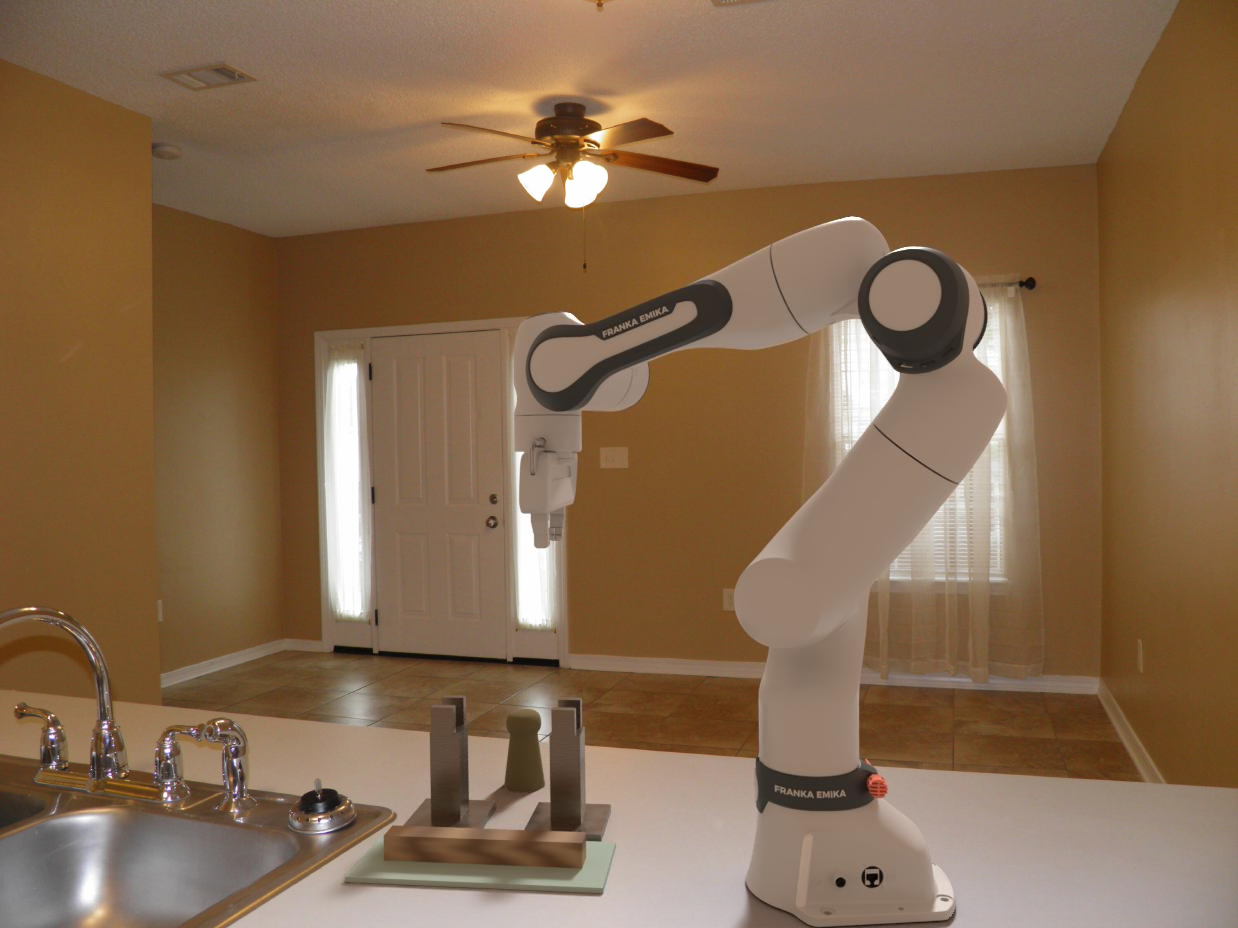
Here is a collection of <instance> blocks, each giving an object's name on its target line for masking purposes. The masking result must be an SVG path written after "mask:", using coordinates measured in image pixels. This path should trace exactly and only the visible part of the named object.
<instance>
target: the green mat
mask: <svg viewBox="0 0 1238 928" xmlns="http://www.w3.org/2000/svg"><path fill="white" fill-rule="evenodd" d="M385 834H386V833H383V832H382V834H381V836H380V837H379V838H377V840H376V841H375V842H374V843H373V844H372V845H371V847H370V848H369V849H368V850H367V851H366V853H365V854H363V856H362V857H361V858H359V860H358V861H357V862H356V864H355V865H354V866H353V867H352V868H351V869H350V870H349V872H347V874H346V875H345V876H344V882H345V883H355V884H356V883H359V884H381V885H383V884H385V885H400V886H401V885H402V886H403V885H404V886H408V885H409V886H427V887H428V886H429V887H452V888H473V889H474V888H475V889H493V890H494V889H496V890H515V891H517V890H518V891H522V890H523V891H538V892H539V891H541V892H560V893H561V892H563V893H564V892H565V893H586V894H588V893H589V894H604V891H605V887H606V885H607V880H608V877H609V874H610V869H611V866H612V862H613V859H614V855H615V851H616V848H617V843H616V841H601V842H598V841H586V859H585V862H584V865H583V868H558V867H533V866H508V865H483V864H459V863H434V862H409V861H385V860H384V835H385Z"/></svg>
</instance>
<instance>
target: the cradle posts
mask: <svg viewBox="0 0 1238 928" xmlns="http://www.w3.org/2000/svg"><path fill="white" fill-rule="evenodd" d="M550 714H551V721H550V722H551V732H550V733H549V738H548V739H549V793H550V794H549V795H550V796H549V797H550V798H549V799H550V800H549V801H550V802H547V801H538V803H537V805H536V807H535V808H534V810H533V812H532V814H531V816H530V818H529V820H528V822H527V824H526V826H525V827H524V829H523V830H536V831H564V832H586V841H598V842H603V838H604V834H605V832H606V829H607V827H608V826H607V824H608V822H609V820H610V816H611V813H612V805H611V804H610V803H609V804H606V803H586V800H587V798H586V797H587V795H586V737H585V736H586V733H585V731H586V729H585V728H586V727H585V726H582V725H583V699H582V697H564V696H561V697H559V698H558V699H557V706H553V707H552V708H551V712H550ZM429 764H430V765H429V767H430V775H429V776H430V780H429V781H430V782H429V783H430V797H429V798H427V797H426V798H425V799H424V800H423V801H422V802H421V804H420V805H419V806H418V807H417V809H416V810H414V812H413V813H412V814H411V815H410V816H409V818H408V819H407V820H406V822H405V823H404V824H403V825H402V826H425V827H453V828H480V829H485V826H486V825H487V823H488V822H489V820H490V818H492V815H493V814H494V812H495V811H496V809H497V800H490V799H483V800H482V799H470V790H469V789H470V785H469V784H470V783H469V782H470V781H469V779H470V778H469V777H470V776H469V725H468V723H467V695H461V694H457V695H456V694H444V695H443V696H441V704H433V705H432V706H430V732H429Z"/></svg>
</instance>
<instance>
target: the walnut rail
mask: <svg viewBox="0 0 1238 928" xmlns="http://www.w3.org/2000/svg"><path fill="white" fill-rule="evenodd" d="M384 834H385V835H384V860H385V861H409V862H434V863H459V864H483V865H508V866H533V867H558V868H583V865H584V862H585V859H586V832H564V831H536V830H524V829H506V828H505V829H503V828H500V829H499V828H483V829H480V828H453V827H425V826H403V825H393V824H392V825H391V826H390V828H389V829H388V830H387V831H386V833H384Z"/></svg>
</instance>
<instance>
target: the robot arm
mask: <svg viewBox="0 0 1238 928" xmlns="http://www.w3.org/2000/svg"><path fill="white" fill-rule="evenodd" d="M987 306H988V305H987V302H986V300H985V297H984V295H983V294H982V292H981V290H980V288H979V287H978V284H977V282H976V280H975V278H974V277H973V276H972V275H971V273H969V272H968V270H967V269H965V268H964V267H963V266H962V265H960V264H959V263H957V262H956V261H955V260H954V259H953V258H952V257H950V255H948V254H946V253H944V252H942V251H940V250H937V249H935V248H931V247H926V246H907V247H902V248H899V249H895V250H893V251H892V250H891V248H890V247H889V244H888V242H887V240H886V238H885V237H884V235H883V234H882V233H881V231H880V230H879V229H878V228H877V227H876V225H874V224H872V223H871V222H870V221H868V220H866V219H865V218H861V217H856V216H850V217H844V218H841V219H836V220H832V221H828V222H824V223H821V224H819V225H816V226H812V227H810V228H807V229H804V230H801V231H799V232H796V233H794V234H791V235H789V236H786V237H784V238H782V239H780V240H777V241H775V242H773V243H771V244H769V245H767V246H765V247H763V248H761V249H758V250H756V251H755V252H753V253H751V254H749V255H746V256H745V257H743V258H741V259H739V260H737V261H735V262H733V263H731V264H729V265H728V266H726V267H723V268H721V269H719V270H717V271H715V272H712V273H711V274H709V275H706V276H704V277H702V278H700V279H697V280H695V281H693V282H691V283H689V284H688V285H685V286H683V287H680V288H678V289H674V290H673V291H669V292H667V293H664V294H662V295H660V296H657V297H654V298H651V299H649V300H647V301H644V302H642V303H639V304H637V305H634V306H632V307H630V308H627V309H625V310H622V311H621V312H617V313H615V314H613V315H611V316H608V317H606V318H603V319H601V320H597V321H595V322H592V323H588V324H585V323H583V321H582V322H581V321H580V320H579V319H578V318H577V317H576V316H575V315H573V314H572V313H570V312H566V311H565V312H564V311H552V312H543V313H542V312H541V313H537V314H534V315H532V316H530V317H527V318H526V319H524V320H523V321H521V322H520V324H519V326H518V329H517V331H516V335H515V340H514V347H513V348H514V349H513V367H512V369H513V373H512V374H513V375H512V376H513V386H514V390H515V393H516V394H515V395H516V405H515V408H514V412H513V427H514V428H513V429H514V431H513V432H514V433H513V439H514V440H513V443H514V447H513V448H514V451H513V452H516V453H522V455H521V456H520V462H519V479H518V480H519V481H518V482H519V483H518V485H519V486H518V505H519V510H520V512H521V513H522V514H523V515H524V514H529V515H530V525H531V529H532V533H533V546H534V548H536V549H547V548H549V547H550V545H551V542H559V541H561V540H563V539H564V527H565V520H566V510H567V509H566V508H567V506H570V505H573V504H574V501H575V497H576V492H577V480H578V479H577V478H578V477H577V476H578V461H579V460H578V456H579V455H578V453H580V452H582V451H583V447H582V446H583V445H582V444H583V443H582V441H583V439H582V435H583V433H582V431H583V429H582V425H583V424H582V423H583V422H582V411H589V412H618V411H624V410H627V409H630V408H632V407H634V406H635V405H636V404H637V403H639V402H640V401H641V399H642V398H643V397H644V396H645V395H646V392H647V390H648V386H649V383H650V374H651V373H650V371H651V370H650V365H649V362H651V361H654V360H656V359H660V358H663V357H664V356H667V355H670V354H671V353H672V354H673V353H676V352H680V351H686V350H691V349H705V348H708V349H709V348H711V349H712V348H713V349H714V348H715V349H732V350H744V351H745V350H746V351H747V350H748V351H757V350H761V349H767V348H772V347H776V346H781V345H783V344H788V343H792V342H794V341H796V340H799V339H802V338H804V337H806V336H809V335H811V334H814V333H816V332H818V331H819V332H820V330H823V329H825V328H827V327H829V326H833V325H834V324H837V323H841V322H844V321H848V320H860V321H861V324H862V326H863V328H864V330H865V332H866V333H867V335H868V338H870V340H871V341H872V343H873V344H874V345H875V346H876V348H877V349H878V350H879V351H880V353H881V354H882V355H883V356H884V358H885V359H886V361H887V362H888V364H889V365H890V366H891V368H892V369H893V370H894V371H896V372H898V373H899V379H898V383H897V384H896V387H895V390H894V391H893V393H892V395H891V396H890V398H889V399H888V400H887V402H886V403H885V404H884V406H883V407H882V408H881V409H880V411H879V412H877V415H876V416H875V418H873V420H872V421H871V423H869V425H868V426H867V428H866V429H865V430H864V432H863V433H862V434H861V435H860V437H859V438H858V439H857V440H856V442H855V443H854V444H853V446H852V447H851V448H850V450H849V451H848V452H847V454H846V455H845V456H844V458H843V459H842V460H841V461H840V463H839V464H838V466H837V467H836V468H835V470H834V471H832V474H830V476H829V477H828V478H827V479H826V480H825V481H824V482H823V484H822V485H821V486H820V487H819V488H818V489H817V490H816V491H815V492H814V493H813V494H812V495H811V496H810V497H809V498H808V499H807V500H806V502H804V503H803V505H802V506H801V507H800V508H799V509H798V510H797V511H796V512H795V513H794V514H793V515H792V516H791V517H790V519H789V520H788V521H787V522H786V523H785V524H784V525H783V526H782V527H781V528H780V530H779V531H778V532H776V534H775V535H774V536H773V537H772V539H771V540H770V541H769V542H768V543H767V544H766V546H765V547H764V548H763V549H762V551H760V552H759V553H758V555H757V556H755V558H754V559H753V560H752V561H751V562H750V563H749V565H748V566H747V567H746V568H745V569H744V570H743V571H742V572H741V574H740V576H739V577H738V580H737V581H736V584H735V588H734V592H733V605H734V606H733V607H734V612H735V614H736V618H737V621H738V622H739V624H740V625H741V628H743V631H745V633H747V635H748V636H749V637H750V638H751V639H753V640H754V641H755V642H757V643H759V644H761V645H763V646H765V647H768V652H767V658H766V662H765V663H766V664H765V668H764V672H763V673H762V677H761V680H760V682H759V683H760V684H759V688H758V748H759V749H758V752H759V753H758V754H757V755H756V758H755V767H754V773H753V774H754V776H753V777H754V803H755V806H756V809H757V817H756V818H757V820H756V826H755V836H754V843H753V848H752V853H751V858H750V862H749V864H748V865H749V866H748V869H747V873H746V876H745V883H746V886H747V888H748V889H749V890H750V892H751V893H752V894H753V895H754V896H755V897H756V898H758V899H759V900H761V901H763V902H765V903H767V904H768V905H770V906H771V907H775V908H778V909H780V910H783V911H785V912H787V913H790V914H792V915H794V916H795V917H797V919H799V920H800V921H802V922H804V923H805V924H807V925H809V926H812V927H815V928H816V927H817V928H820V927H821V928H823V927H824V928H825V927H842V926H844V927H845V926H846V927H847V926H856V925H857V926H861V925H862V926H863V925H880V924H897V923H899V924H901V923H917V922H933V921H934V922H936V921H946V920H949V919H950V918H951V917H953V915H954V913H955V911H956V907H957V906H956V904H955V903H956V896H955V890H954V887H953V884H952V883H951V881H950V879H949V877H948V876H947V874H946V873H945V872H944V870H942V868H941V867H940V866H939V865H937V864H936V863H935V862H934V861H932V857H931V853H930V849H929V846H928V843H927V842H926V839H925V837H924V835H923V834H922V832H921V830H920V828H919V827H918V826H917V825H916V824H915V823H914V821H912V820H911V819H910V818H909V817H908V816H906V815H905V814H903V813H902V812H901V811H900V810H898V809H897V808H896V807H894V806H893V805H892V804H891V803H890V802H887V801H886V800H885V799H884V798H885V797H886V795H887V794H888V793H889V792H888V791H889V788H888V784H887V783H886V780H885V778H884V777H883V776H882V775H880V774H879V773H878V770H877V768H875V767H874V766H872V764H871V762H869V760H868V759H867V758H865V760H863V759H862V758H860V705H859V704H860V686H861V675H862V670H863V669H862V668H863V664H864V663H863V660H864V654H865V646H866V637H867V627H868V626H867V623H868V613H869V612H868V611H869V599H870V593H871V588H872V586H873V584H874V583H875V582H876V581H877V580H878V579H879V578H880V577H881V575H883V573H884V572H886V570H887V569H888V568H889V567H890V566H891V565H892V564H893V563H894V561H895V560H896V559H897V558H898V557H899V556H900V555H901V554H902V553H903V552H904V551H905V550H906V549H907V547H908V546H909V545H911V544H912V542H914V540H915V539H916V537H918V535H919V534H920V533H921V531H922V530H923V529H924V528H925V526H927V524H928V523H929V522H930V521H931V519H932V518H933V517H934V516H935V515H936V513H937V512H938V511H939V510H940V508H941V507H942V506H943V505H944V504H945V502H946V501H947V500H948V498H950V496H951V495H952V493H954V491H955V490H956V488H958V486H959V485H960V483H962V481H963V480H964V479H965V478H966V477H967V475H968V474H969V472H970V471H971V470H972V468H973V467H974V466H975V464H976V463H977V461H978V460H979V459H980V457H981V455H982V454H983V452H984V451H985V450H986V448H987V446H988V445H989V444H990V442H991V440H992V438H993V437H994V434H995V433H996V431H997V429H998V428H999V426H1000V424H1001V422H1002V419H1004V416H1005V414H1006V411H1007V407H1008V395H1007V392H1006V389H1005V386H1004V385H1003V383H1002V382H1001V380H1000V378H999V377H998V376H997V375H996V374H995V372H993V371H992V370H991V369H990V368H989V367H987V366H986V365H985V364H984V363H982V362H981V361H980V360H979V359H978V358H977V357H976V355H975V354H974V351H975V350H976V349H977V348H978V347H979V345H980V344H981V342H982V340H983V338H984V336H985V333H986V329H987V328H988V327H987V326H988V320H989V319H988V318H989V317H988V307H987ZM955 906H956V907H955ZM954 910H955V911H954ZM953 912H954V913H953ZM952 914H953V915H952ZM949 917H950V918H949Z"/></svg>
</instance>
